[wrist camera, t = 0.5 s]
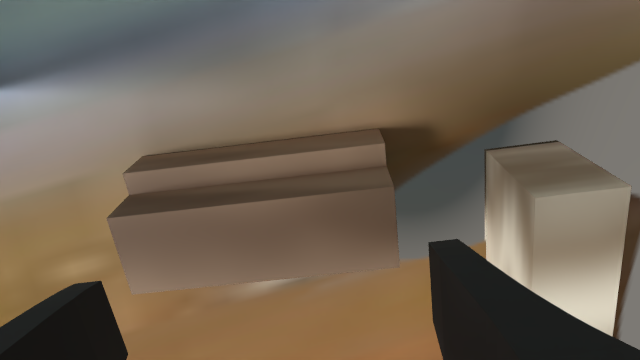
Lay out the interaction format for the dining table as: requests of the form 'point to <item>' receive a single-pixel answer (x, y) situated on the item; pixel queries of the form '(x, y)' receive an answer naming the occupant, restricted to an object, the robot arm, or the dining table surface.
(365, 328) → the dining table surface
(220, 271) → the walnut ridge
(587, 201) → the metal bar
